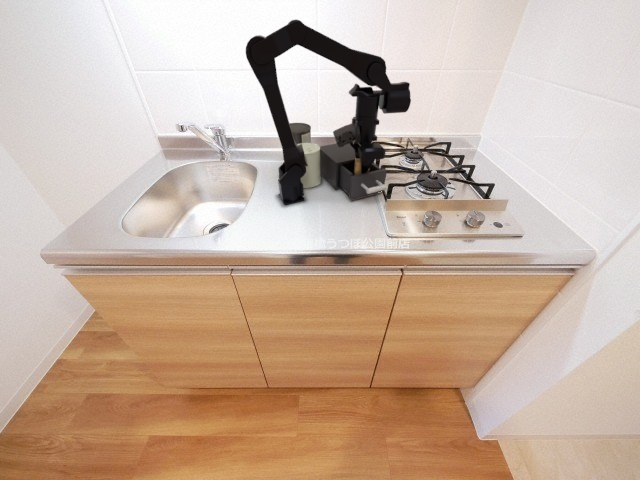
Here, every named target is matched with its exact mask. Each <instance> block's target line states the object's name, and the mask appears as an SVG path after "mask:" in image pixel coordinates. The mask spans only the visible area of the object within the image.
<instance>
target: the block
mask: <svg viewBox="0 0 640 480" xmlns="http://www.w3.org/2000/svg"><path fill="white" fill-rule="evenodd" d="M368 172H369V169H368V171H367V172H366V173H368ZM354 173H355V175H359V174H361V162H360V158H355V166H354Z"/></svg>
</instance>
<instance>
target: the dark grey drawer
mask: <svg viewBox="0 0 640 480" xmlns="http://www.w3.org/2000/svg"><path fill="white" fill-rule="evenodd" d="M354 166H355V162H351V163H346V164H341V165H339V170H338V185H339V186H340V187H341V189H342V190H343V191H344V192H345V193H346V194H347V195H348V199H349V200H350V201H355V200H359V199H362V198H367V197H370V196H374V195H377V194H379V193H378V192H381V191H383V190H384V191H386V190H387V189H388V185H387V184H386V179H387V171H388V169H386V168H381V167H379V165H377V164H375V163H374V162H373V163H372V165H371V166H370V168H369V172H368V173H363V174H359V175H355V173H354ZM384 191H383V192H384ZM383 192H381V193H380V194H382V193H383Z"/></svg>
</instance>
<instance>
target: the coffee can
mask: <svg viewBox="0 0 640 480" xmlns="http://www.w3.org/2000/svg"><path fill="white" fill-rule="evenodd" d="M289 123H290V122H289ZM290 127H291V130H292V134H293V137H294V140H295V142H296V144H300V143H312V132H311V130H312V126H311V125H310V124H308V123H305V122H291V123H290Z"/></svg>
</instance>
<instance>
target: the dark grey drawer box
mask: <svg viewBox="0 0 640 480" xmlns="http://www.w3.org/2000/svg"><path fill="white" fill-rule="evenodd" d="M319 146H320V176H321V177H323V178H324V179H325V180H326V181H327V182H328V183H329V185H331V187H333V189H334V190H341V189H342V188H341V187H340V186H339V185H338V170H339V165H341V164H346V163H351V162H355V158H356V157H355V151H354V148H353V147H352V146H351V145H350V144H349V143H348V144H346V145H344V146H343V147H338V145H337V143H331V144H325V145H319Z"/></svg>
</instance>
